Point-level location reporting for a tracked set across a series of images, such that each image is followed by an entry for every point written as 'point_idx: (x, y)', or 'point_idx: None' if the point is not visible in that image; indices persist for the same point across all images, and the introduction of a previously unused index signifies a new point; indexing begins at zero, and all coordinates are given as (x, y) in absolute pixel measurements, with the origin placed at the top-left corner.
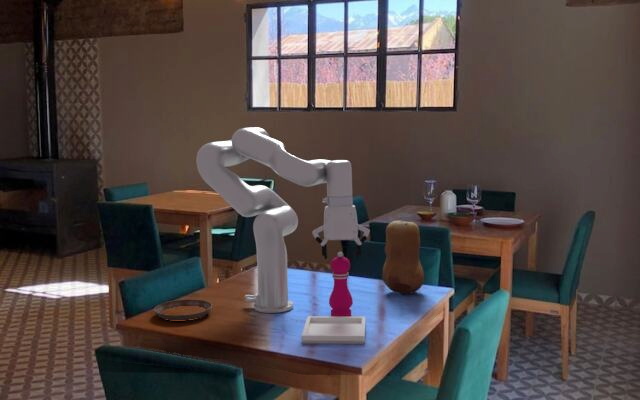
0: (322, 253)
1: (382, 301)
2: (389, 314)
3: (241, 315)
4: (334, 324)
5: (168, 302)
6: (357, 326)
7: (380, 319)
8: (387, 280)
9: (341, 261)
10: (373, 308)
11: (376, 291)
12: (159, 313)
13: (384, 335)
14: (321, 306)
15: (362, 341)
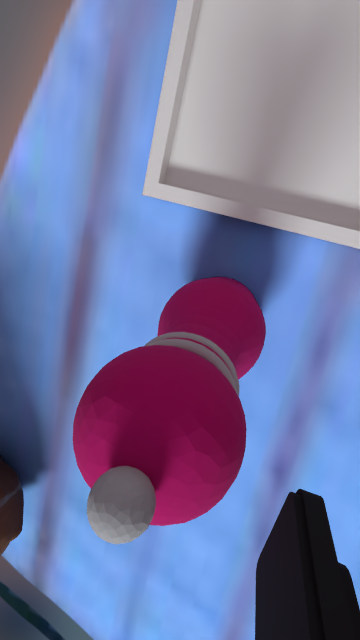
0: (350, 588)
1: (60, 418)
2: (57, 286)
3: None
4: (280, 178)
5: None
6: (192, 130)
7: (93, 239)
8: (3, 496)
9: (143, 391)
10: (96, 362)
11: (63, 509)
12: None
13: (109, 32)
14: (263, 440)
15: None
